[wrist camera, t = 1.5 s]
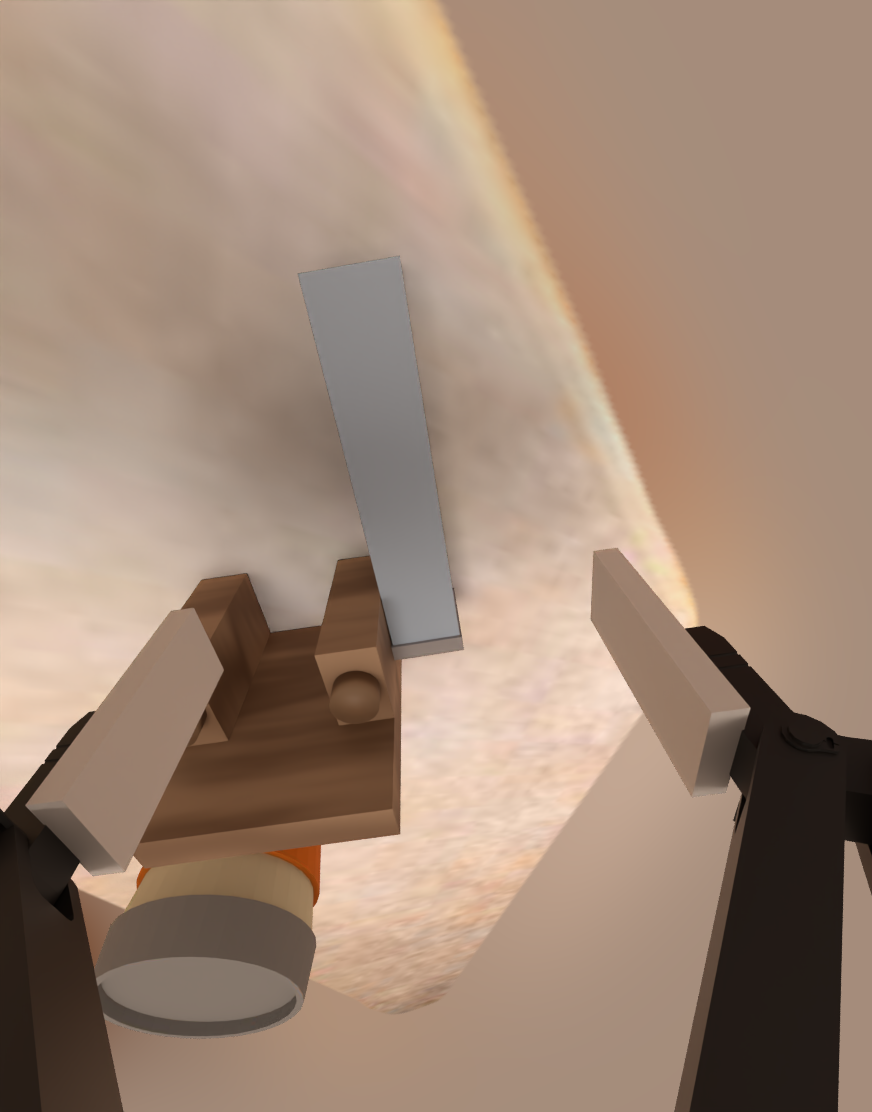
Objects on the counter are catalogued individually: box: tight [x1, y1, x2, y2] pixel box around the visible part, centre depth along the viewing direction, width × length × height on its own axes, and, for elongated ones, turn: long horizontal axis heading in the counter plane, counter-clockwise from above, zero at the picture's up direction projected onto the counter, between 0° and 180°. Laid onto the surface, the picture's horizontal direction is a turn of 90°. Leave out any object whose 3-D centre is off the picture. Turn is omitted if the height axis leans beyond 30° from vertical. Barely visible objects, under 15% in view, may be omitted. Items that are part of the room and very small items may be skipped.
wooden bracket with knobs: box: [133, 556, 402, 869], centre depth 26 cm, size 7×12×14 cm, turn 98°
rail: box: [298, 256, 464, 660], centre depth 25 cm, size 20×4×5 cm, turn 9°
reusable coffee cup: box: [94, 845, 321, 1039], centre depth 33 cm, size 12×13×15 cm
